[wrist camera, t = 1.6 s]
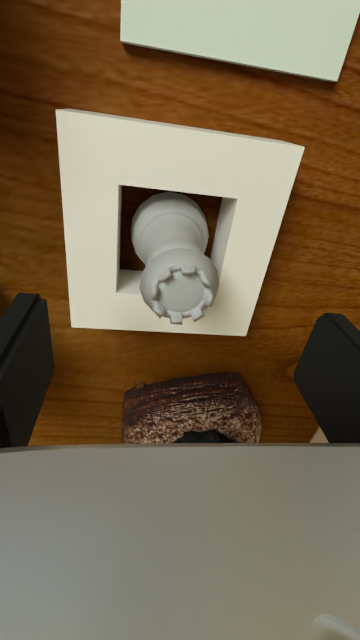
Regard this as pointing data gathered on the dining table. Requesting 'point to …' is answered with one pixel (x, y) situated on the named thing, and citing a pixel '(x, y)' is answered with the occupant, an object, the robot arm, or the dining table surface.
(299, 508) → the robot arm
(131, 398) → the pastry
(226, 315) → the pocket block
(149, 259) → the rook chess piece
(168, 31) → the coaster
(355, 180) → the dining table surface
